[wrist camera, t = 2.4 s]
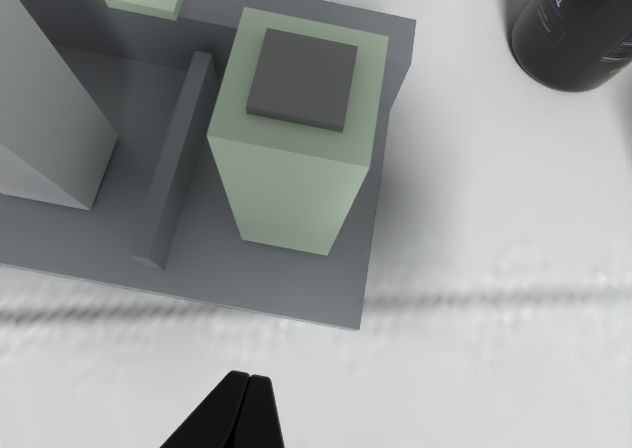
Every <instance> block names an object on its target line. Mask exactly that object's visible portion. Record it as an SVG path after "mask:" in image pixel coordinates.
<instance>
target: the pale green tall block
mask: <svg viewBox="0 0 632 448" xmlns="http://www.w3.org/2000/svg"><path fill="white" fill-rule="evenodd" d="M388 40H389V36H385V35H380V34H375V33H370V32H365V31H360V30H355V29H350V28H346V27H341V26H336V25H331V24H326V23H321V22H316V21H311V20H307V19H302V18H297V17H292V16H287V15H282V14H277V13H272V12H268V11H263V10H258V9H253V8H248V7H244V9H243V12H242V16H241V19H240V23H239V26H238V30H237V33H236V36H235V40H234V43H233V47H232V50H231V53H230V57H229V60H228V64H227V67H226V70H225V74H224V77H223V81H222V84H221V88H220V91H219V94H218V98H217V101H216V105H215V108H214V111H213V115H212V118H211V122H210V125H209V128H208V132H207V135H206V136H207V138H208V141H209V144H210V147H211V150H212V153H213V156H214V159H215V162H216V165H217V168H218V171H219V174H220V177H221V180H222V183H223V185H224V188H225V191H226V194H227V197H228V200H229V203H230V206H231V209H232V212H233V215H234V218H235V221H236V224H237V227H238V229H239V232H240V235H241V238H242V240H247V241H252V242H257V243H263V244H268V245H273V246H278V247H284V248H289V249H294V250H299V251H305V252H310V253H315V254H320V255H325V256H327V255H328V253H329V251H330V249H331V247H332V245H333V243H334V241H335V239H336V237H337V235H338V232H339V230H340V228H341V226H342V224H343V222H344V220H345V218H346V216H347V214H348V212H349V210H350V207H351V205H352V203H353V201H354V199H355V197H356V195H357V193H358V191H359V189H360V187H361V185H362V182H363V180H364V178H365V176H366V174H367V172H368V170H369V168H370V162H371V155H372V148H373V141H374V135H375V128H376V121H377V114H378V108H379V101H380V94H381V87H382V80H383V74H384V67H385V60H386V53H387V47H388Z"/></svg>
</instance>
